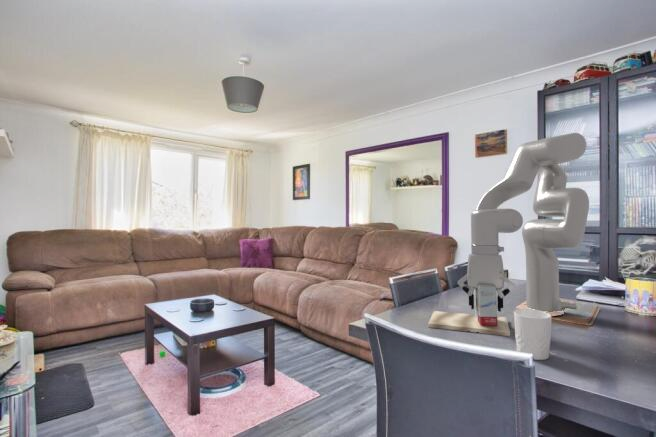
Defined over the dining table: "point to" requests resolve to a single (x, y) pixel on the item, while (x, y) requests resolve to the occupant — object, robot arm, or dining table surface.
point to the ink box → (486, 305)
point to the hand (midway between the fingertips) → (485, 308)
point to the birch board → (467, 323)
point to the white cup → (533, 332)
